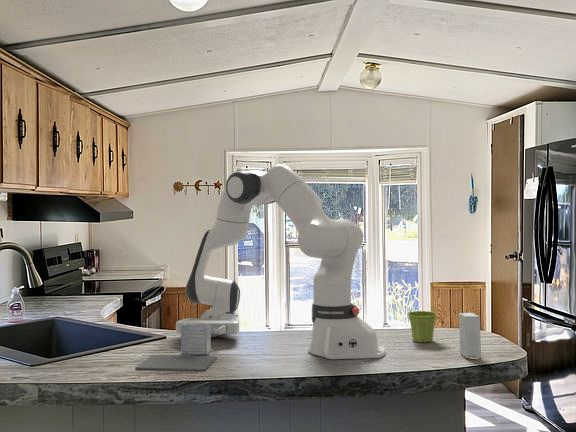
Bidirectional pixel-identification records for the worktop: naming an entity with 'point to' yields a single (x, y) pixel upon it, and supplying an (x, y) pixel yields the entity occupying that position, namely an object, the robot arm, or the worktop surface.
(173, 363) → the mat
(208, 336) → the medicine box
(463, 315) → the skincare box
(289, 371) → the worktop surface
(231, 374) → the worktop surface
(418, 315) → the plant pot
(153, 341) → the worktop surface
